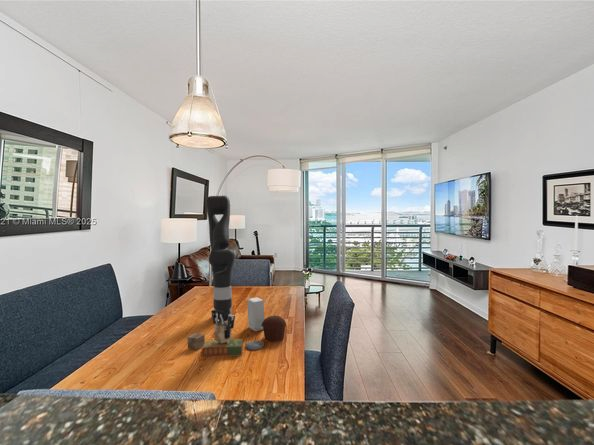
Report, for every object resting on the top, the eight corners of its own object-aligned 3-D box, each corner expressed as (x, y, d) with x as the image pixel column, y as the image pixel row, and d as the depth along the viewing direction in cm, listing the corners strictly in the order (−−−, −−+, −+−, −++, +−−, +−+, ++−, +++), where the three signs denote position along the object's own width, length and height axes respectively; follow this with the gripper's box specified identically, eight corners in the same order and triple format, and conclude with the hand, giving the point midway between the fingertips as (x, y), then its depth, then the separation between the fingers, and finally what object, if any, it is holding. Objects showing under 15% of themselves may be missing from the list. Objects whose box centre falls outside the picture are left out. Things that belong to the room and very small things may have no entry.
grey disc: (241, 346, 136) (241, 344, 136) (255, 341, 142) (255, 339, 142) (253, 351, 131) (253, 350, 131) (267, 345, 137) (267, 344, 137)
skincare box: (265, 329, 157) (264, 300, 156) (254, 332, 153) (253, 302, 153) (257, 324, 164) (257, 296, 163) (247, 327, 160) (246, 298, 160)
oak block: (214, 340, 131) (214, 323, 131) (224, 336, 135) (224, 320, 135) (221, 343, 128) (221, 326, 128) (231, 339, 132) (231, 323, 132)
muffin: (284, 332, 152) (284, 312, 152) (288, 341, 142) (288, 319, 141) (260, 334, 150) (259, 314, 150) (262, 344, 139) (262, 321, 139)
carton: (205, 349, 135) (205, 339, 135) (243, 347, 137) (243, 338, 136) (201, 358, 127) (201, 347, 126) (241, 356, 128) (241, 345, 128)
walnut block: (187, 348, 135) (187, 337, 135) (195, 344, 140) (195, 333, 140) (197, 350, 133) (196, 338, 133) (204, 345, 138) (204, 334, 138)
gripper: (205, 295, 133) (205, 335, 134) (225, 301, 124) (226, 344, 124) (220, 292, 139) (220, 330, 139) (240, 297, 129) (241, 338, 130)
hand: (223, 336), depth 132 cm, fingers closed on oak block, 5 cm apart
